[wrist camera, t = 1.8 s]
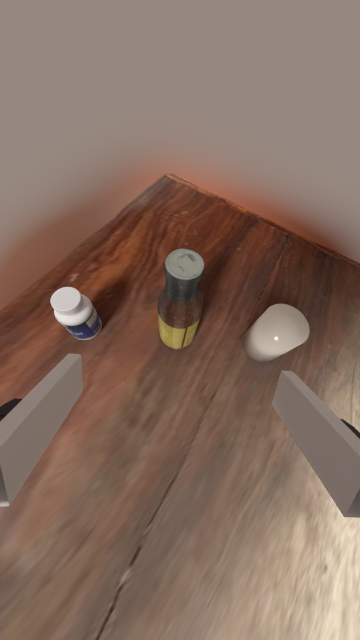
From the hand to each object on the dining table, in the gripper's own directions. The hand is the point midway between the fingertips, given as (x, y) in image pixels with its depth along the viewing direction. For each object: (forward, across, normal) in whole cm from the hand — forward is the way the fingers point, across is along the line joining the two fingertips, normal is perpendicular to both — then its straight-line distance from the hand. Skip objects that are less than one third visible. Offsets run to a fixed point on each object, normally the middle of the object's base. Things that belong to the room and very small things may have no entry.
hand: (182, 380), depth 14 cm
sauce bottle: (+24, +1, -7) cm, 25 cm away
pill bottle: (+24, -16, -7) cm, 30 cm away
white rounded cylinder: (+24, +17, -7) cm, 30 cm away
